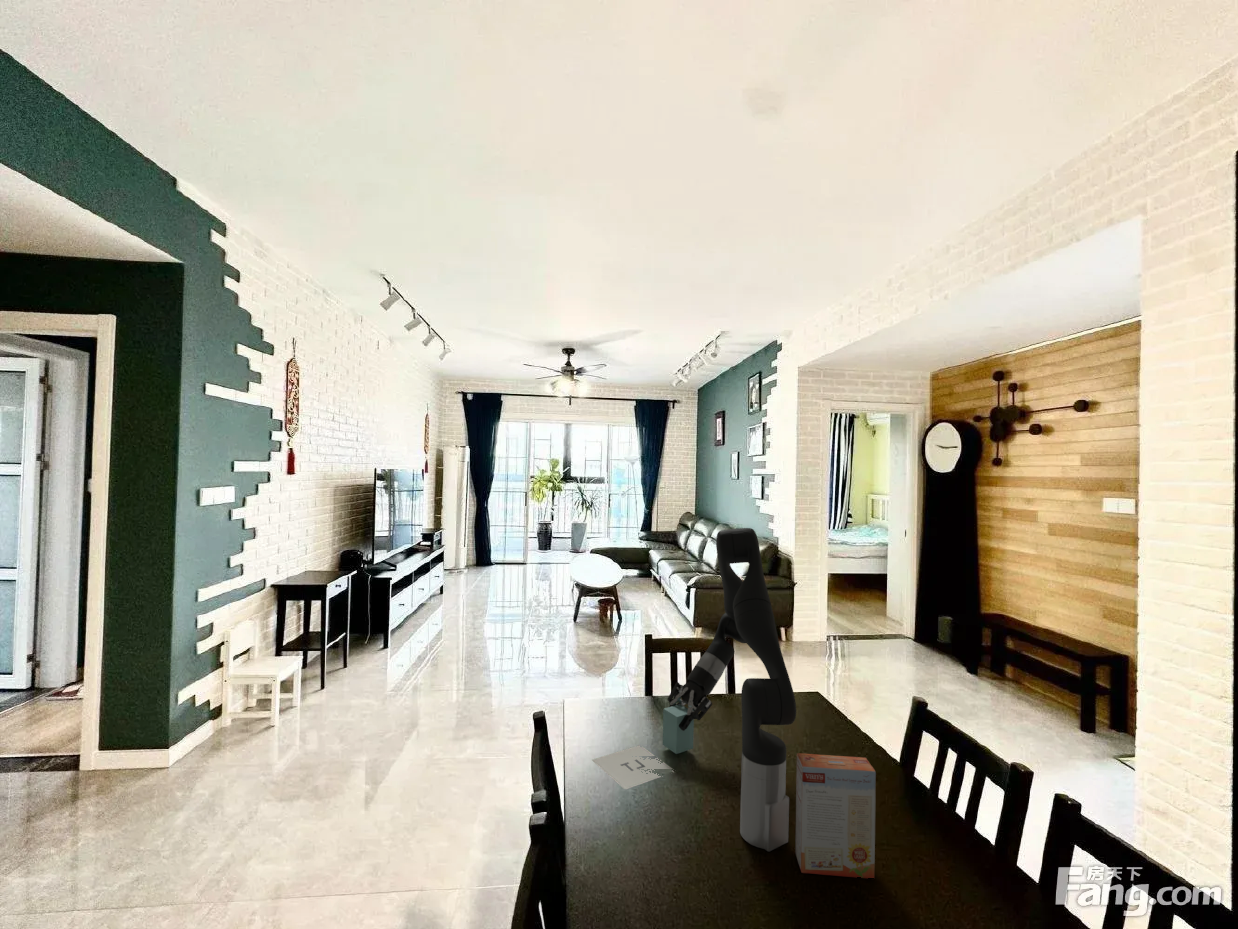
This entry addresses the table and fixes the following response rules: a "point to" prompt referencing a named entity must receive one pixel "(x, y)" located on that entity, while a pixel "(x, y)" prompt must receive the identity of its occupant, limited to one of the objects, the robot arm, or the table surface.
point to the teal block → (677, 729)
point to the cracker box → (835, 815)
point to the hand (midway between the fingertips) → (673, 723)
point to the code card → (630, 766)
